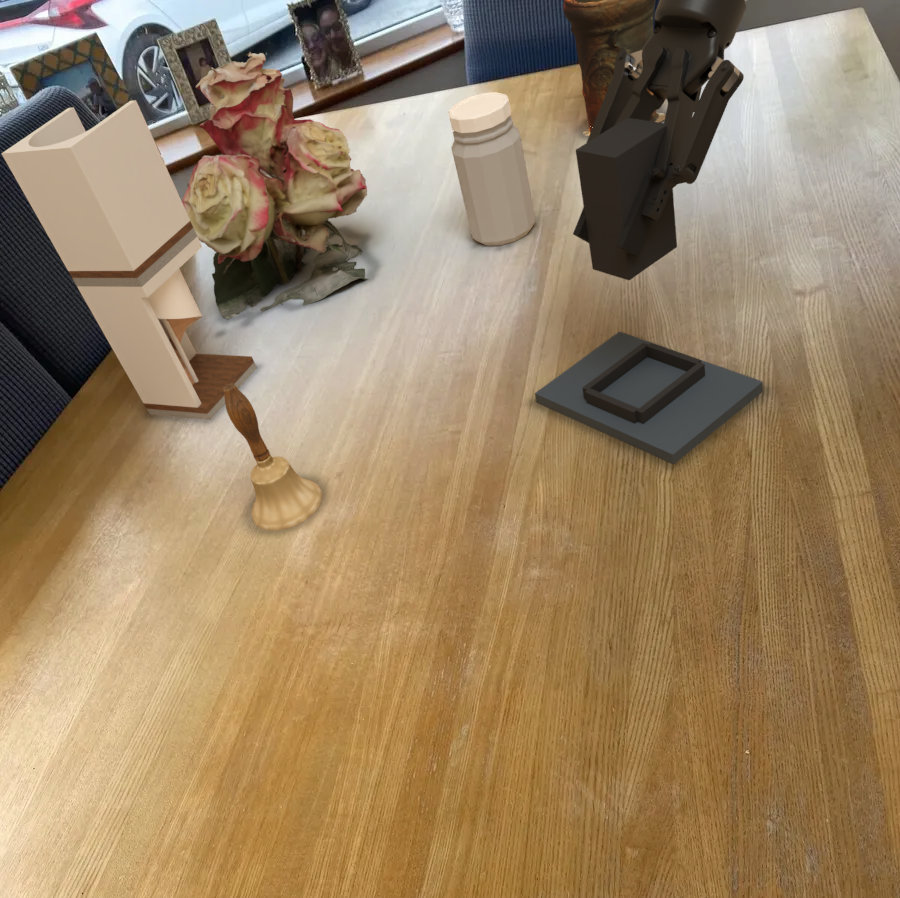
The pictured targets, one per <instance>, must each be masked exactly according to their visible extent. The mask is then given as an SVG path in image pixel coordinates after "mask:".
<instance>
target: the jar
mask: <svg viewBox="0 0 900 898" xmlns="http://www.w3.org/2000/svg"><path fill="white" fill-rule="evenodd" d="M447 114H448V118H449V122H450V127H451V130H452V131H453V132H452V136H453V139H454V140H453V142H452V145H451V153H452V157H453V161H454V166H455V171H456V174H457V179H458V181H459V187H460V191H461V195H462V199H463V204H464V208H465V213H466V217H467V222H468V225H469V230H470V235H471V239H473V240H475V241H476V242H477V243H480V244H482V245H484V246H487V247H493V246H494V247H495V246H496V247H497V246H503V245H508V244H511V243H514V242H517V241H518V240H520V239H522V238H524V237H525V236H527V235H528V234H529V233H530V231H531V229H532V228H533V227H534V225H535V223H536V221H537V220H536V219H537V218H536V214H535V207H534V203H533V197H532V192H531V187H530V186H531V185H530V181H529V174H528V170H527V169H528V168H527V165H526V164H527V163H526V159H525V153H524V148H523V143H522V137H521V133H520V131H519V128H518V127H517V126H516V125H515V124H514V121H513V118H512V109H511V104H510V99H509V97H508V95H507V94H505V93H501V92H497V91H494V92H492V91H491V92H482V93H479V94H475V95H472V96H469V97H466V98H464V99H462V100H460V101H458V102H456V103H455V104H454V105H453V106H452V107H451V108H450V109H449V110H448V111H447Z"/></svg>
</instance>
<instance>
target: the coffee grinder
mask: <svg viewBox="0 0 900 898" xmlns="http://www.w3.org/2000/svg"><path fill="white" fill-rule="evenodd" d="M1 155H2V157H3V159H4V161H5V163H6V165H7V166H8V167H9V170H10V172H11V173H12V175H13V176H14V178H15V180H16V182H17V183H18V186H19V187H20V190H21V191H22V192H23V194H24V196H25V198H26V200H27V201H28V203H29V205H30V207H31V208H32V210H33V212H34V213H35V216H36V217H37V219H38V220H39V223H40V224H41V226H42V228H43V229H44V231H45V233H46V234H47V236H48V238H49V240H50V242H51V243H52V245H53V247H54V249H55V250H56V253H57V254H58V256H59V257H60V260H61V261H62V263H63V264H64V266H65V268H66V270H67V271H68V273H69V275H70V277H71V279H72V281H73V282H74V284H75V285H76V288H77V289H78V291H79V293H80V294H81V296H82V298H83V300H84V302H85V303H86V305H87V307H88V309H89V310H90V312H91V314H92V316H93V317H94V319H95V321H96V322H97V324H98V326H99V328H100V329H101V331H102V333H103V335H104V337H105V339H106V340H107V342H108V344H109V346H110V348H111V349H112V350H113V352H114V354H115V356H116V358H117V360H118V361H119V363H120V365H121V366H122V368H123V370H124V372H125V374H126V375H127V377H128V379H129V381H130V382H131V384H132V386H133V387H134V389H135V391H136V394H137V395H138V396H139V398H140V400H141V402H142V404H143V405H144V407H145V409H146V411H147V413H148V414H149V415H151V416H160V417H161V416H162V417H174V418H185V419H194V420H195V419H197V420H207V421H212V419H213V418H214V417H215V416H216V415H217V414H218V412H219V411H220V410H221V409H222V408H223V407H224V406H225V397H224V392H223V387H224V386H225V385H227V384H229V383H233V384H235V386H236V387H237V388H238V389H239V390H240V388H241V387H242V385H243V384H245V382H246V381H247V380H248V379H249V378H250V377H251V376H252V374H253V373H254V372H255V371H256V370H257V369H258V367H257V365H256V363H255V361H254V358H253V356H251V355H232V354H231V355H228V354H212V353H211V354H208V353H197V352H196V349H195V348H194V345H193V344H192V342H191V340H190V338H189V336H188V334H187V332H186V331H187V330H188V329H189V328H190V327H192V326H193V325H194V324H195V323H197V322H198V321H199V320H200V319H201V318H203V315H202V313H201V310H200V309H199V306H198V304H197V302H196V300H195V297H194V296H193V294H192V291H191V290H190V288H189V286H188V284H187V281H186V279H185V277H184V274H183V273H182V271H181V267H182V266H184V265H185V264H186V262H188V261H189V260H190V259H191V258H192V257H194V255H195V254H196V253H198V252H199V251H200V250H201V249H202V248H203V246H202V242H201V241H200V240H199V239H198V236H197V234H196V232H195V230H194V228H193V225H192V223H191V221H190V219H189V217H188V214H187V212H186V210H185V208H184V205H183V203H182V199H181V197H180V194H179V192H178V190H177V188H176V186H175V184H174V181H173V179H172V177H171V175H170V172H169V171H168V170H169V169H168V168H167V165H166V164H165V162H164V159H163V157H162V155H161V152H160V151H159V148H158V146H157V144H156V141H155V139H154V137H153V134H152V132H151V130H150V129H149V126H148V124H147V122H146V119H145V117H144V114H143V113H142V111H141V108H140V106H139V104H138V101H137V100H136V99H135V100H129V101H128V102H127V103H125V104H124V105H123V106H120V107H119V108H118V109H117V110H116V111H114V112H112V113H111V114H110V115H108V116H107V117H105V118H104V119H102V121H100V122H98V123H97V124H96V125H94V126H93V127H91V128H90V129H87V130H86V129H85V127H84V125H83V123H82V121H81V119H80V117H79V115H78V114H77V111H76V109H75V107H74V106H73V107H67V108H65V110H63V111H62V112H60V113H58V114H57V115H56V116H54V117H52V119H50V120H48V121H47V122H46V123H44V124H43V125H41V126H40V127H38V128H37V129H35V130H34V131H32V132H31V133H30V134H27V136H25V137H24V138H22V139H21V140H19V141H18V142H16V143H15V144H13V145H11V146H10V147H9V148H7V149H6V150H4V151H3V152H2V153H1Z"/></svg>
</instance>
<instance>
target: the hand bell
mask: <svg viewBox="0 0 900 898" xmlns="http://www.w3.org/2000/svg"><path fill="white" fill-rule="evenodd" d="M223 392H224V397H225V404H224V406H225V409H226V410H225V411H226V413H227V416H228V417H229V420H230V421H231V423H232V424H233V427H234V428H235V429H236V431H237V432H238V433H239V434H240V435H242V437H243V438H244V439H245V440H246V442H247V445H248V447H249V448H250V451H251V453H252V455H253V458H254V460H255V462H256V465H254V467H253V468H252V470H251V472H250V480H251V483H252V486H253V489H254V493H255V501H254V503H253V505H252V508H251V520H252V522H253V523H254V524H255V525H256V526H257V527H258V528H260V529H263V530H267V531H280V530H281V531H282V530H285V529H289V528H292V527H295V526H297V525H299V524H301V523H303V522H304V521H305V520H307V519H309V517H311V516H312V515H313V514H314V513H315V512H316V511H317V510H318V508H319V507H320V506H321V503H322V500H323V491H322V489H321V488H320V486H319V485H318V484H317V483H316V482H314V481H312V480H310V479H307V478H304V477H301V476H300V475H299V474H298V473H297V472H296V471H295V469H294V468H293V467H292V466H291V464H290V462H289V461H288V460H287V459H286V458H284V457H282V456H272V455H271V453H270V450H269V449H268V447H267V445H266V443H265V442H264V440H263V438H262V435H261V433H260V428H259V422H258V421H259V420H258V417H257V414H256V412H255V409H254V406H253V405H252V403H251V401H250V399H248V398H247V396H246V395H245V394H244V393H243V392H242V391H241V390H240V388H239V389H238V388H237V387H236V386H235V384H233V383H229V384H227V385H225V386H224V387H223Z"/></svg>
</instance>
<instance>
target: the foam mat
mask: <svg viewBox="0 0 900 898" xmlns="http://www.w3.org/2000/svg"><path fill="white" fill-rule="evenodd" d="M763 382H764V381H763V380H759V379H756V378H754V377H750V376H749V375H745V374H742V373H739V372H736V371H734V370H731V369H728V368H724V367H723V366H720V365H717V364H714V363H711V362H708V361H706V360H702V359H700V358H697V357H694V356H691V355H688V354H685V353H684V352H683V353H682V352H680V351H678V350H675V349H671V348H669V347H666V346H662V345H660V344H657V343H654V342H651V341H649V340H646V339H642V338H640V337H637V336H634V335H631V334H629V333H626V332H623V331H618V332H617V333H615V334H614V335H612V336H611V337H610V338H609V339H607V340H605V341H604V342H603V343H601V344H600V345H599V346H597V347H596V348H594V349H593V350H592V351H590V352H589V353H588V354H586V355H585V356H584V357H582V358H581V359H580V360H579V361H577V362H576V363H574V364H573V365H572V366H570V367H569V368H567V369H566V370H564V371H563V372H562V373H561V374H559V375H558V376H556V377H555V378H554V379H552V380H551V381H550V382H548V383H547V384H546V385H544V386H543V387H541V388H540V389H538V390H537V391H536V392H534V397H535V401H536V402H535V403H537V404H539V405H541V406H544V407H545V408H548V409H549V410H552V411H555V412H556V413H558V414H561V415H564V416H565V417H566V418H569V419H571V420H574V421H576V422H578V423H581V424H583V425H585V426H587V427H589V428H592V429H594V430H596V431H597V432H601V433H603V434H604V435H607V436H609V437H611V438H614V439H616V440H618V441H621V442H622V443H625V444H627V445H630V446H631V447H634V448H636V449H638V450H641V451H642V452H645V453H647V454H650V455H651V456H654V457H656V458H658V459H660V460H663V461H665V462H667V463H669V464H671V465H675V464H676V463H678V462H679V461H680V460H681V459H683V458H684V457H685V456H686V455H687V454H689V453H690V452H691V451H692V450H694V449H695V448H696V447H697V446H698V445H700V444H701V443H702V442H703V441H704V440H706V439H707V438H708V437H710V436H711V435H712V434H713V433H714V432H716V431H717V430H718V429H719V428H720V427H722V426H723V425H724V424H725V423H727V422H728V421H729V420H730V419H732V418H733V417H734V416H735V415H737V414H738V413H739V412H740V411H741V410H743V409H744V408H745V407H746V406H747V405H748V404H750V403H751V402H752V401H753V400H755V399H756V398H757V397H758V396H759V395H761V394H762V393H763V391H764V389H763V387H764V386H763V385H764V383H763Z"/></svg>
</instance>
